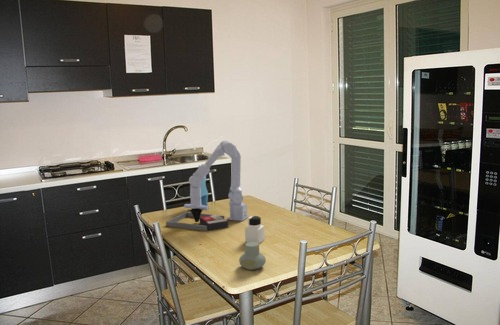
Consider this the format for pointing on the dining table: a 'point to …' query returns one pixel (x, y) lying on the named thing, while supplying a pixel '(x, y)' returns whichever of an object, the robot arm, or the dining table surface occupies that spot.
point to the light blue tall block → (204, 192)
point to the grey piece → (174, 223)
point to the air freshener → (252, 257)
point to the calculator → (214, 222)
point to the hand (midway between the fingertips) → (197, 221)
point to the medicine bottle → (254, 230)
